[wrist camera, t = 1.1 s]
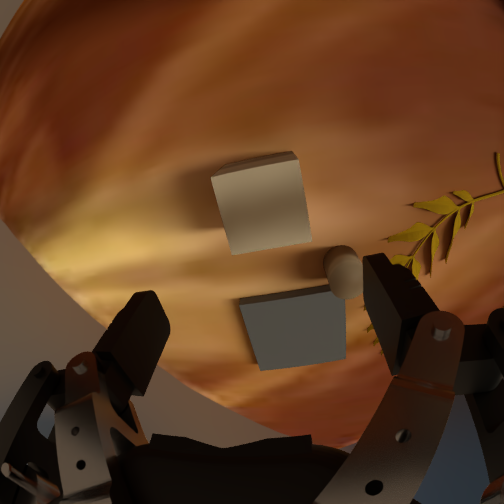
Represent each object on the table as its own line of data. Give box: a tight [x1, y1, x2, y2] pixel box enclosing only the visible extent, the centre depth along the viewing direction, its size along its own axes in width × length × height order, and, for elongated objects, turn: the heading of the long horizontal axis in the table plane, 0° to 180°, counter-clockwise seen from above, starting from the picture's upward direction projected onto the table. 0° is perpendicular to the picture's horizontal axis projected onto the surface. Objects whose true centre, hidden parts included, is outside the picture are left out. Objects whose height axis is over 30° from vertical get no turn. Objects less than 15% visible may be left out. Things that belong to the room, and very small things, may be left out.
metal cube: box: [211, 151, 312, 255], centre depth 22 cm, size 6×6×6 cm
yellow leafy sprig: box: [364, 153, 504, 355], centre depth 26 cm, size 35×2×30 cm
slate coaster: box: [239, 285, 346, 371], centre depth 30 cm, size 11×11×1 cm
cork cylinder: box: [323, 245, 363, 299], centre depth 25 cm, size 4×4×4 cm
